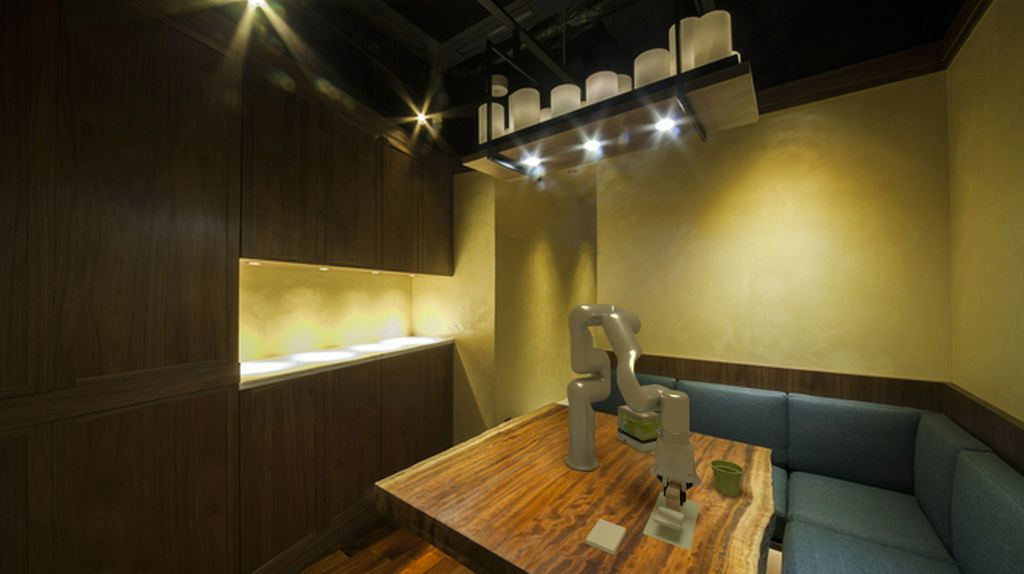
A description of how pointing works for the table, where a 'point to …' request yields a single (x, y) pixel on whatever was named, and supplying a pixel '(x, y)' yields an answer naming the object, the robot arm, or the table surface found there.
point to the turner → (671, 507)
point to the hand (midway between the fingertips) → (674, 501)
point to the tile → (606, 536)
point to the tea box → (638, 428)
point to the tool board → (670, 534)
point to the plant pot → (727, 477)
